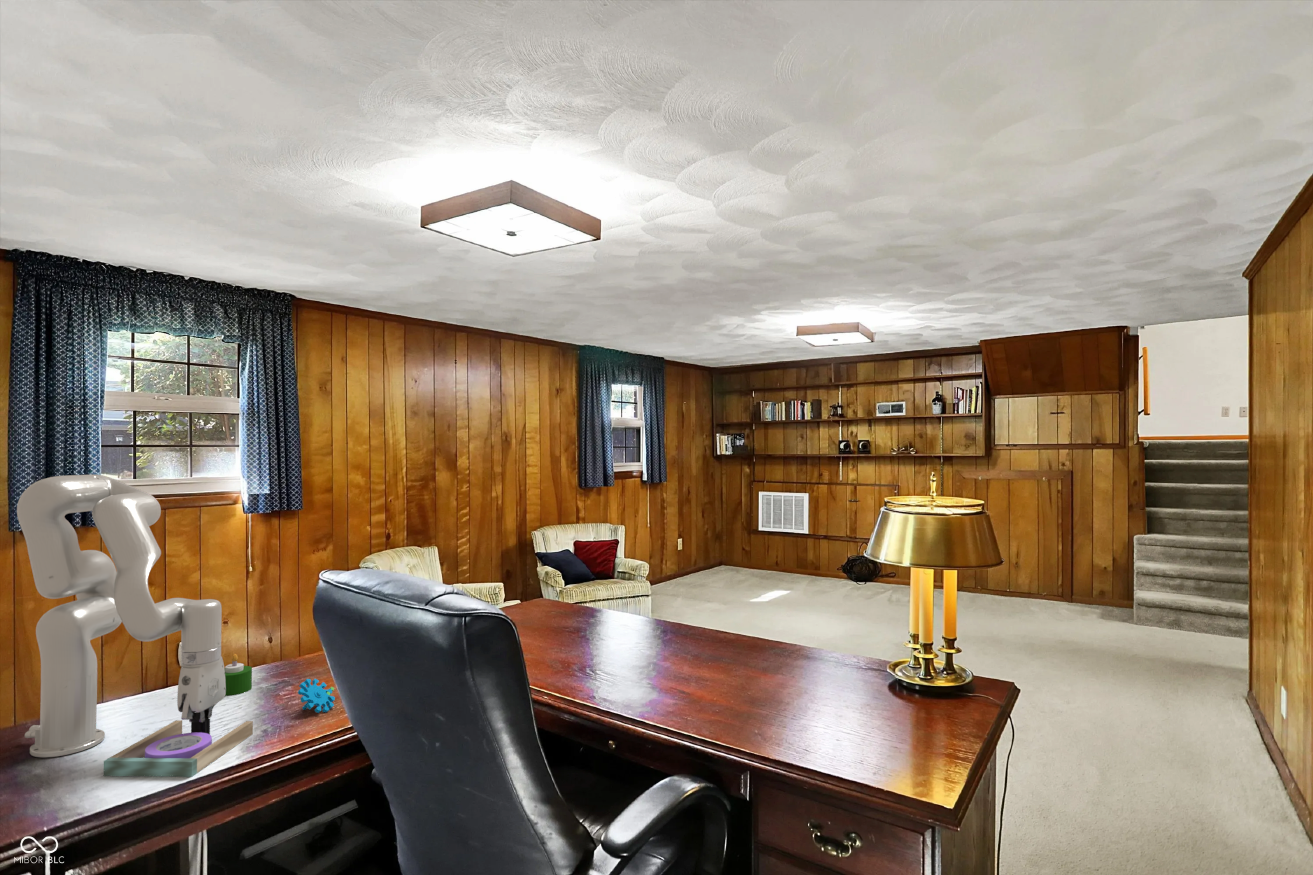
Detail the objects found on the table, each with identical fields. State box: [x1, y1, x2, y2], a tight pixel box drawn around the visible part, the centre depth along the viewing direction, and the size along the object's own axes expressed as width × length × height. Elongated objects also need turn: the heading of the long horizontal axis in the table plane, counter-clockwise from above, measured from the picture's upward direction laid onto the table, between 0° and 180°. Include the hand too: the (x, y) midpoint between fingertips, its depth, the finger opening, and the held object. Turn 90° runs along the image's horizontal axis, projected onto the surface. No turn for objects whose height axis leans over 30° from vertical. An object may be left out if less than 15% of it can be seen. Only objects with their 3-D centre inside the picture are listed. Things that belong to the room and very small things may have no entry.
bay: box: [102, 719, 254, 778], centre depth 148 cm, size 18×20×3 cm
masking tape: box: [144, 732, 213, 758], centre depth 145 cm, size 12×12×4 cm
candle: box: [224, 653, 253, 697], centre depth 186 cm, size 8×8×10 cm
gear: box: [297, 678, 336, 714], centre depth 173 cm, size 11×6×10 cm
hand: (200, 737), depth 153 cm, fingers closed
